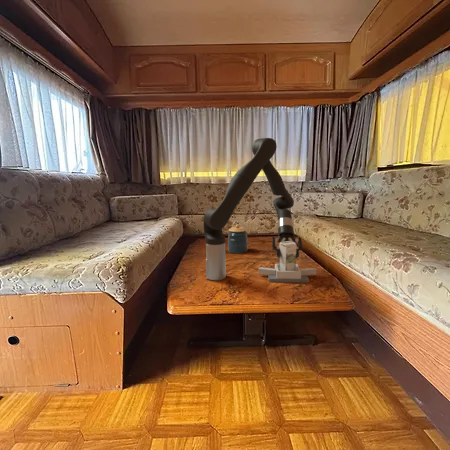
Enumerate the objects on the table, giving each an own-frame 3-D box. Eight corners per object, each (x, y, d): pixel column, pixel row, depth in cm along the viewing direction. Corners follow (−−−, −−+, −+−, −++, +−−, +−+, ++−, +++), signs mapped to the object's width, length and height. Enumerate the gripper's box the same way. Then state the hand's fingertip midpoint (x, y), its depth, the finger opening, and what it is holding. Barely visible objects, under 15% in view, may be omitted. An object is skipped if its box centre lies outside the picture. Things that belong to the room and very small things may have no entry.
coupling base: (258, 281, 129) (258, 271, 128) (258, 272, 141) (258, 263, 140) (319, 282, 127) (319, 272, 126) (313, 273, 138) (314, 263, 138)
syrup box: (288, 269, 137) (289, 240, 135) (295, 273, 132) (296, 243, 129) (278, 270, 135) (279, 241, 133) (285, 274, 130) (286, 244, 127)
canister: (239, 247, 191) (238, 222, 188) (251, 251, 181) (251, 224, 178) (223, 250, 184) (223, 224, 181) (236, 254, 173) (235, 227, 170)
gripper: (271, 224, 138) (272, 253, 128) (301, 224, 136) (304, 253, 127) (270, 232, 144) (272, 261, 134) (299, 232, 142) (302, 261, 133)
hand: (287, 257), depth 131 cm, fingers closed on syrup box, 7 cm apart
